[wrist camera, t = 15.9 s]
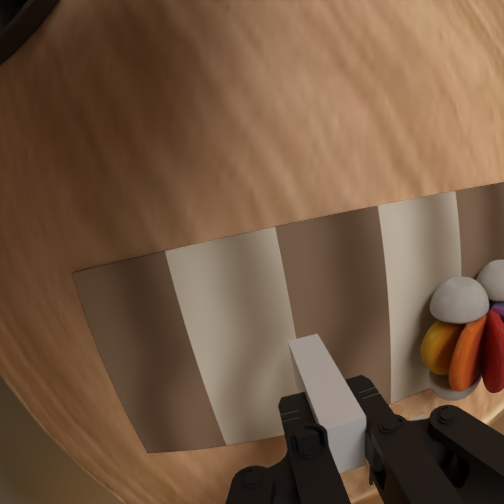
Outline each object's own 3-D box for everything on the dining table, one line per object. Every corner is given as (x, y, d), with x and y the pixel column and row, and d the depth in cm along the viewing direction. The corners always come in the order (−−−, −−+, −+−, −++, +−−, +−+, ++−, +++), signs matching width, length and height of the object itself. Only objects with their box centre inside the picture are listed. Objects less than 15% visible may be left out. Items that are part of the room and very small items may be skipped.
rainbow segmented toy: (406, 285, 18) (480, 329, 11) (506, 247, 19) (577, 268, 11) (410, 391, 20) (460, 452, 13) (501, 345, 20) (557, 382, 13)
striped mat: (148, 450, 20) (147, 452, 20) (74, 272, 17) (71, 273, 17) (540, 325, 21) (542, 326, 20) (543, 175, 18) (546, 175, 18)
